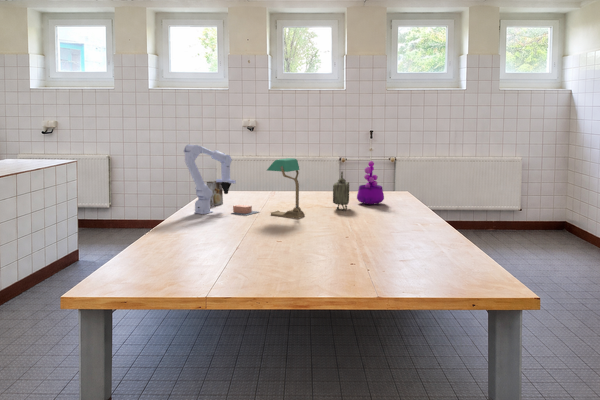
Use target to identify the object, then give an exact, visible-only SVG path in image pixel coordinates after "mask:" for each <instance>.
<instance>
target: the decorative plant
mask: <svg viewBox="0 0 600 400" xmlns="http://www.w3.org/2000/svg"><path fill="white" fill-rule="evenodd" d="M374 165H375V162H374V161H373V160H370V161H368V166H367V167H365V168H364V173H365V175H364V176H363V177H364V179H365V180H366V181H367V182H366V183H365V184H361V185H359V186H358V191H357V194H356V200H357V201H358V202H360V203H361V204H364V205H377V204H379V203H382V202H383V201H384V200H385V194H384V190H383V186H382V185H378V181H377V180H378V175H377V174H373V171H374V169H375V167H374Z"/></svg>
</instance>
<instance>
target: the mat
mask: <svg viewBox="0 0 600 400" xmlns="http://www.w3.org/2000/svg"><path fill="white" fill-rule="evenodd" d="M259 213H260V211H257V210H252V212H251V213H247V214H245V213H236V212H231V213H230V214H231V215H237V216H245V217H246V216H250V215H255V214H259Z"/></svg>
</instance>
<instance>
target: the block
mask: <svg viewBox="0 0 600 400" xmlns="http://www.w3.org/2000/svg"><path fill="white" fill-rule="evenodd" d="M232 208H233V209H232V211H233V212H232V213H234V212H236V213H245V214H247V213H251V212H252V211H253V209H252V208H253V207H252V205H247V204H246V205H245V204H235V205H233V207H232Z"/></svg>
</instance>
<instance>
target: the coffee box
mask: <svg viewBox="0 0 600 400" xmlns="http://www.w3.org/2000/svg"><path fill="white" fill-rule="evenodd" d="M221 183H222V182H216V180H209V181H206V185H207V186H208V188H209V189H210V190H211V191H212V196H211V197H210V206H215V207H216V206H219V205H223V204H224V198H223V197H224V195H223V194H224V191H223V188H222V186H221Z"/></svg>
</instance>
